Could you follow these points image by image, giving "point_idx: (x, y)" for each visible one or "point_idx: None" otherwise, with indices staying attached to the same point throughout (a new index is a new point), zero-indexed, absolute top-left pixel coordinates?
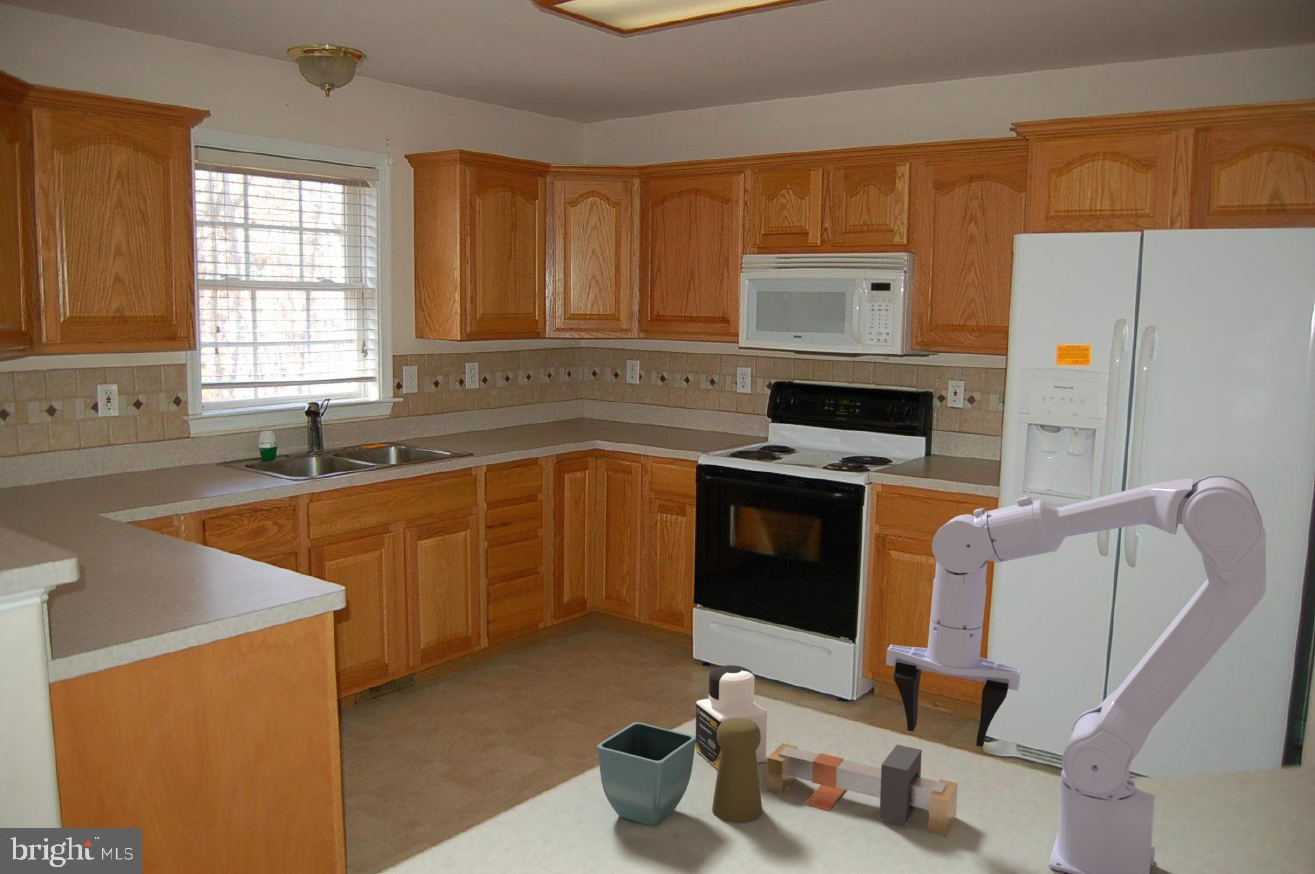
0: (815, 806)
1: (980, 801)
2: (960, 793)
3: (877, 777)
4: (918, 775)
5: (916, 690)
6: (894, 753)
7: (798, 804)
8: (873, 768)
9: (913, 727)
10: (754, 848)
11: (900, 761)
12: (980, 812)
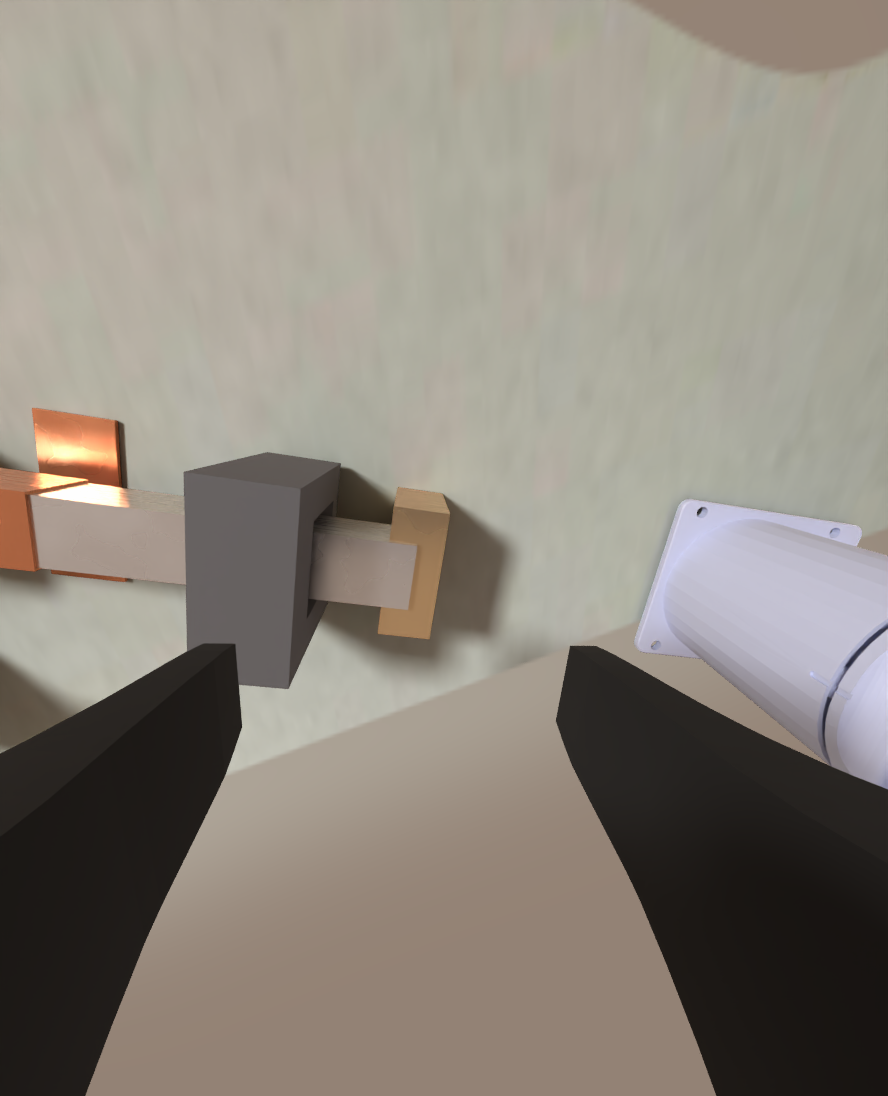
0: (85, 575)
1: (503, 369)
2: (445, 334)
3: None
4: (319, 505)
5: (57, 965)
6: (203, 569)
7: (39, 578)
8: (160, 527)
9: (232, 751)
10: None
11: (246, 628)
12: (502, 440)
